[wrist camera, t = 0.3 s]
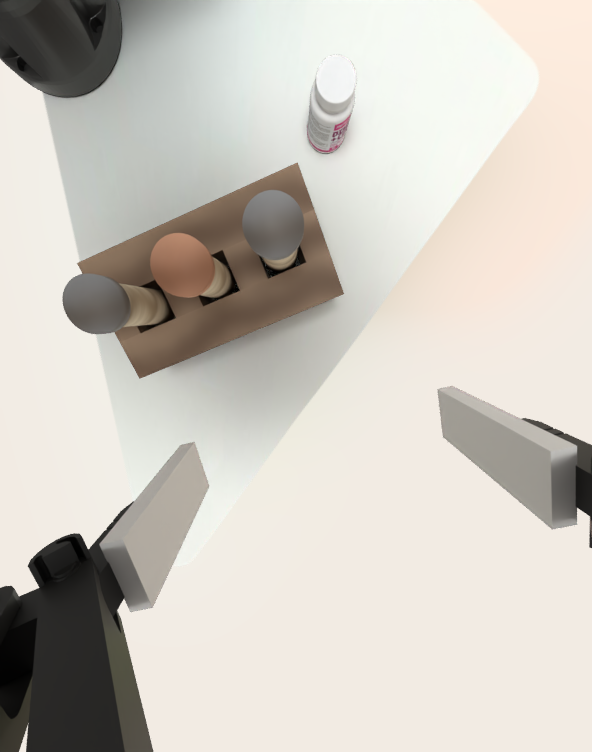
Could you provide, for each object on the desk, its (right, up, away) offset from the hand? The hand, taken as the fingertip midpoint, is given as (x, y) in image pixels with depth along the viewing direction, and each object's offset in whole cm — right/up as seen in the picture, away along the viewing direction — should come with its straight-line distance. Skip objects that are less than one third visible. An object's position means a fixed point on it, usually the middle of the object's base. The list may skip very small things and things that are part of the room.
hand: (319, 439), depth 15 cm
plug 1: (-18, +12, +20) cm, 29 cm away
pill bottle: (+3, +34, +21) cm, 40 cm away
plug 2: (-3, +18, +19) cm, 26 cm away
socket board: (-11, +16, +24) cm, 31 cm away
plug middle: (-11, +15, +20) cm, 27 cm away
